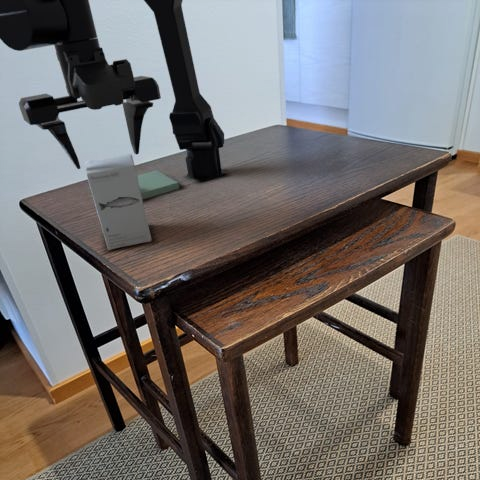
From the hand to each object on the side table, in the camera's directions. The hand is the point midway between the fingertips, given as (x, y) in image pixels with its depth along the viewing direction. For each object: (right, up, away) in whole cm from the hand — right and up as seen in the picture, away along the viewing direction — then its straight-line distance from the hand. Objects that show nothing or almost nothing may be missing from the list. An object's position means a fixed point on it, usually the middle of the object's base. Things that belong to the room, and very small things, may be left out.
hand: (108, 160), depth 68 cm
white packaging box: (+1, -11, +8) cm, 13 cm away
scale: (-2, +3, +27) cm, 27 cm away
